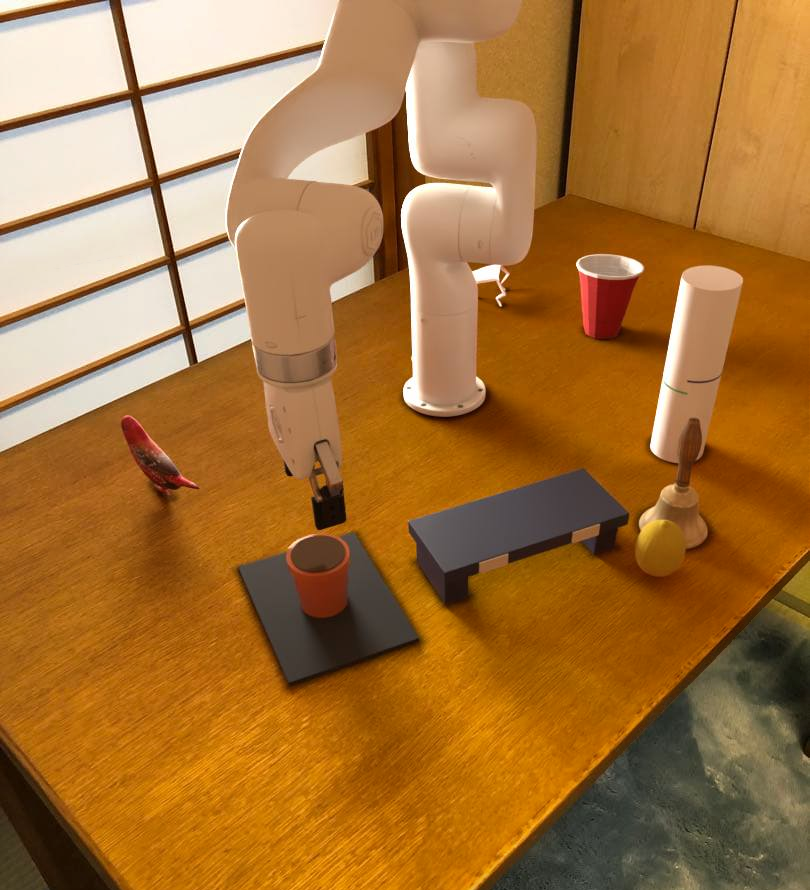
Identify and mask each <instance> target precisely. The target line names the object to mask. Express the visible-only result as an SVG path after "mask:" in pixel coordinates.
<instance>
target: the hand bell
mask: <svg viewBox="0 0 810 890" xmlns="http://www.w3.org/2000/svg"><path fill="white" fill-rule="evenodd" d="M701 444H702V433H701V428H700V420H699V419H698V418H690V419H688V422H687V424H686V426H685V427H684V429H683V430H682V432H681V434H680V437H679V441H678V448H677V454H678V461H679V463H678V465H677V466H678V467H677V471H676V476H675V479H674V483H673V484H672V483H671V484H669V485H667V486H665V487H663V489H662V490H661V492H660V495H659V497H658V500H657V502H656V504H655V505H654V506H652V507H650V508H648V509H647V510H645V511H644V512H643V513H642V515H641V516H640V518H639V520H638V528H639V530H640V532H641V531H642V529H643V528H644V527H645V526H646V525H647V524H648V523H650V522H652V521H655V520H662V519H663V520H669V521H671V522H673V523H675V524H676V525H678V526H679V527H680V528H681V530H682V532H683V533H684V537H685V542H686V550H689V549H694V548H696V547H698V546H700V545H701V544H703V543H704V541H705V540H706V539H707V537H708V534H709V533H708V532H709V531H708V526H707V523H706V522H705V519H704V518H703V517H702V516H701V515H700V514H699V501H700V498H699V497H700V496H699V494H698V493H697V491H696V490H695V489H694V488H693V487H691V486H690V484H691V477H692V476H691V475H692V470H693V465H694V464H695V462H696V461H697V460H696V459H697V457H698V455H699V452H700V449H701ZM695 460H696V461H695Z"/></svg>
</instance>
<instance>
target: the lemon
mask: <svg viewBox="0 0 810 890" xmlns="http://www.w3.org/2000/svg"><path fill="white" fill-rule="evenodd" d="M686 550H687V549H686V542H685V537H684V533H683V532H682V530H681V528H680V527H679V526H678V525H676V524H675V523H673V522H671V521H669V520H663V519H662V520H655V521H652V522H650V523H648V524H647V525H646V526H645V527H644V528H643V529H642V531H640V532H639V534H638V537H637V539H636V540H635V547H634V556H635V560H636V563H637V565H638V566H639V568H640V570H642V571H643V572H644V573H645V574H647V575H649V576H652V577H656V578H657V577H659V578H661V577H662V578H663V577H667V576H669V575H671V574H673V573H675V572H676V571H677V570H678V569H679V568H680V566H681V565H682V564H683V561H684V559H685V555H686Z"/></svg>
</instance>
